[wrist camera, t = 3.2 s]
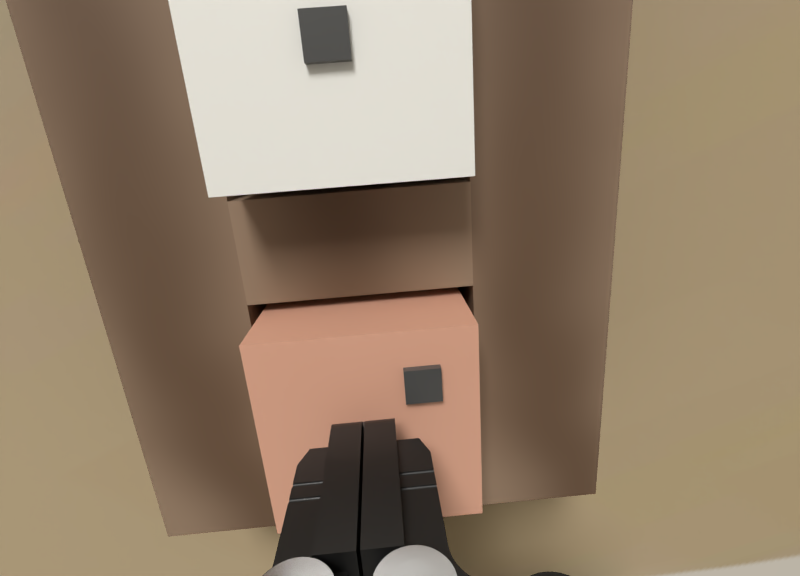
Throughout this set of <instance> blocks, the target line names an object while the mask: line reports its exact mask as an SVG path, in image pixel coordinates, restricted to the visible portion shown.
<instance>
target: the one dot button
mask: <svg viewBox="0 0 800 576" xmlns="http://www.w3.org/2000/svg"><path fill="white" fill-rule="evenodd" d="M168 2H169V7H170V12H171V17H172V22H173V27H174V32H175V37H176V41H177V46H178V51H179V56H180V61H181V66H182V71H183V76H184V80H185V85H186V90H187V95H188V100H189V105H190V110H191V115H192V119H193V124H194V129H195V134H196V139H197V144H198V149H199V154H200V158H201V163H202V168H203V173H204V178H205V183H206V188H207V193H208V197H209V198H210V197H222V196H235V195H247V194H259V193H272V192H284V191H296V190H309V189H321V188H334V187H346V186H358V185H371V184H383V183H395V182H408V181H420V180H432V179H445V178H457V177H469V176H475V144H474V98H473V53H472V7H471V0H168Z"/></svg>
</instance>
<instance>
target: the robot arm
mask: <svg viewBox="0 0 800 576" xmlns="http://www.w3.org/2000/svg"><path fill="white" fill-rule="evenodd" d="M263 576H469V575H468V574H467V573H465V572H464V571H463V570H462V569H461V568H460V567H459V566H458V565H457V564H456V562H455V561H454V559H453V558H452V555H451V553H450V551H449V547H448V543H447V538H446V532H445V527H444V521H443V516H442V511H441V505H440V500H439V494H438V489H437V484H436V478H435V473H434V467H433V462H432V457H431V452H430V450H429V449H428V448H427V447H426V446H425V445H424V443H423V442H422V441H421V440H420V439H419V438H414V439H403V440H397V437H396V426H395V418H391V419H381V420H370V421H365V423H364V426H363V422H362V421H361V422H351V423H341V424H332V425H331V430H330V437H329V443H328V447H323V448H313V449H309V451H308V452H307V453H306V455H305V456H304V457H303V458H302V460H301V461H300V462H299V463H298V465H297V468H296V472H295V476H294V480H293V487H292V489H291V493H290V497H289V503H288V505H287V510H286V514H285V518H284V522H283V526H282V531H281V535H280V539H279V543H278V547H277V551H276V556H275V560H274V564H273V567H272V568H271V569H270V570H268V571H267V572H266V573H265V574H264V575H263ZM531 576H569V575H566V574H562V573H557V572H541V573H537V574H534V575H531Z"/></svg>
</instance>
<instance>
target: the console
mask: <svg viewBox="0 0 800 576" xmlns="http://www.w3.org/2000/svg"><path fill="white" fill-rule="evenodd" d="M6 3H7V6H8V9H9V12H10V16H11V19H12V22H13V26H14V29H15V32H16V36H17V39H18V42H19V45H20V49H21V52H22V55H23V59H24V62H25V65H26V69H27V72H28V75H29V78H30V82H31V85H32V88H33V92H34V95H35V98H36V102H37V105H38V108H39V111H40V115H41V118H42V121H43V125H44V128H45V131H46V135H47V138H48V141H49V144H50V148H51V151H52V154H53V158H54V161H55V164H56V168H57V171H58V174H59V177H60V181H61V184H62V187H63V191H64V194H65V197H66V201H67V204H68V207H69V210H70V214H71V217H72V220H73V224H74V227H75V230H76V233H77V237H78V240H79V243H80V247H81V250H82V253H83V257H84V260H85V263H86V266H87V270H88V273H89V276H90V280H91V283H92V286H93V290H94V293H95V296H96V299H97V303H98V306H99V309H100V313H101V316H102V319H103V323H104V326H105V329H106V332H107V336H108V339H109V342H110V346H111V349H112V352H113V356H114V359H115V362H116V365H117V369H118V372H119V375H120V379H121V382H122V385H123V389H124V392H125V395H126V398H127V402H128V405H129V408H130V412H131V415H132V418H133V422H134V425H135V428H136V431H137V435H138V438H139V441H140V445H141V448H142V451H143V454H144V458H145V461H146V464H147V468H148V471H149V474H150V478H151V481H152V484H153V487H154V491H155V494H156V497H157V501H158V504H159V507H160V511H161V514H162V517H163V520H164V524H165V527H166V530H167V534H168V536H178V535H188V534H198V533H208V532H218V531H227V530H237V529H247V528H257V527H267V526H276V524H275V519H274V514H273V509H272V505H271V500H270V495H269V490H268V485H267V480H266V475H265V470H264V466H263V461H262V456H261V451H260V446H259V441H258V436H257V431H256V427H255V422H254V417H253V412H252V407H251V402H250V397H249V392H248V388H247V383H246V378H245V373H244V368H243V363H242V358H241V353H240V349H239V345H240V344H241V342H242V341H243V339H244V338H245V336H246V335H247V333H248V332H249V330H250V329H251V327H252V326H253V325H254V323H255V322H256V320H257V319H258V317H259V316H260V314H261V313H262V311H263V310H264V308H265V307H266V305H267V304H268V303H280V302H291V301H303V300H314V299H326V298H337V297H348V296H360V295H371V294H383V293H394V292H406V291H417V290H429V289H440V288H451V287H457V288H458V290H459V291H460V293H461V295H462V297H463V298H464V300H465V302H466V304H467V305H468V307H469V309H470V311H471V312H472V314H473V316H474V318H475V319H476V321H477V323H478V328H479V374H480V419H481V465H482V505H487V504H497V503H506V502H516V501H526V500H536V499H546V498H556V497H566V496H576V495H586V494H595V493H596V480H597V467H598V454H599V440H600V427H601V414H602V401H603V388H604V374H605V361H606V348H607V335H608V322H609V308H610V295H611V282H612V269H613V256H614V242H615V229H616V216H617V203H618V190H619V176H620V163H621V150H622V137H623V124H624V110H625V97H626V84H627V71H628V58H629V45H630V31H631V18H632V5H633V0H471V7H472V53H473V98H474V144H475V176H469V177H457V178H445V179H432V180H420V181H408V182H395V183H383V184H371V185H358V186H346V187H334V188H321V189H309V190H296V191H284V192H272V193H259V194H247V195H235V196H222V197H210V198H209V197H208V193H207V188H206V183H205V178H204V173H203V168H202V163H201V158H200V154H199V149H198V144H197V139H196V134H195V129H194V124H193V119H192V115H191V110H190V105H189V100H188V95H187V90H186V85H185V80H184V76H183V71H182V66H181V61H180V56H179V51H178V46H177V41H176V37H175V32H174V27H173V22H172V17H171V12H170V7H169V2H168V0H6Z"/></svg>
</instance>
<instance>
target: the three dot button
mask: <svg viewBox="0 0 800 576" xmlns="http://www.w3.org/2000/svg"><path fill="white" fill-rule="evenodd" d="M239 349H240V353H241V358H242V363H243V368H244V373H245V378H246V383H247V388H248V392H249V397H250V402H251V407H252V412H253V417H254V422H255V427H256V431H257V436H258V441H259V446H260V451H261V456H262V461H263V466H264V470H265V475H266V480H267V485H268V490H269V495H270V500H271V505H272V509H273V514H274V519H275V524H276V529H277V534H280V533H281V531H282V526H283V522H284V518H285V514H286V510H287V505H288V503H289V497H290V493H291V489H292V487H293V480H294V476H295V472H296V468H297V465H298V463H299V462H300V461H301V460H302V458H303V457H304V456H305V455H306V453H307V452H308V451H309V449H313V448H323V447H328V443H329V437H330V430H331V425H332V424H341V423H351V422H361V421H362V422H363V426H364V423H365V421H370V420H381V419H391V418H395V426H396V437H397V440H403V439H414V438H419V439H420V440H421V441H422V442H423V443H424V445H425V446H426V447H427V448H428V449H429V450H430V452H431V457H432V462H433V467H434V473H435V478H436V484H437V489H438V494H439V500H440V505H441V511H442V516H443V517H449V516H459V515H468V514H478V513H483V511H482V465H481V419H480V374H479V328H478V323H477V321H476V319H475V318H474V316H473V314H472V312H471V311H470V309H469V307H468V305H467V304H466V302H465V300H464V298H463V297H462V295H461V293H460V291H459V290H458V288H457V287H451V288H440V289H429V290H417V291H406V292H394V293H383V294H371V295H360V296H348V297H337V298H326V299H314V300H303V301H291V302H280V303H268V304H267V305H266V307H265V308H264V310H263V311H262V313H261V314H260V316H259V317H258V319H257V320H256V322H255V323H254V325H253V326H252V327H251V329H250V330H249V332H248V333H247V335H246V336H245V338H244V339H243V341H242V342H241V344H240V345H239Z"/></svg>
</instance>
